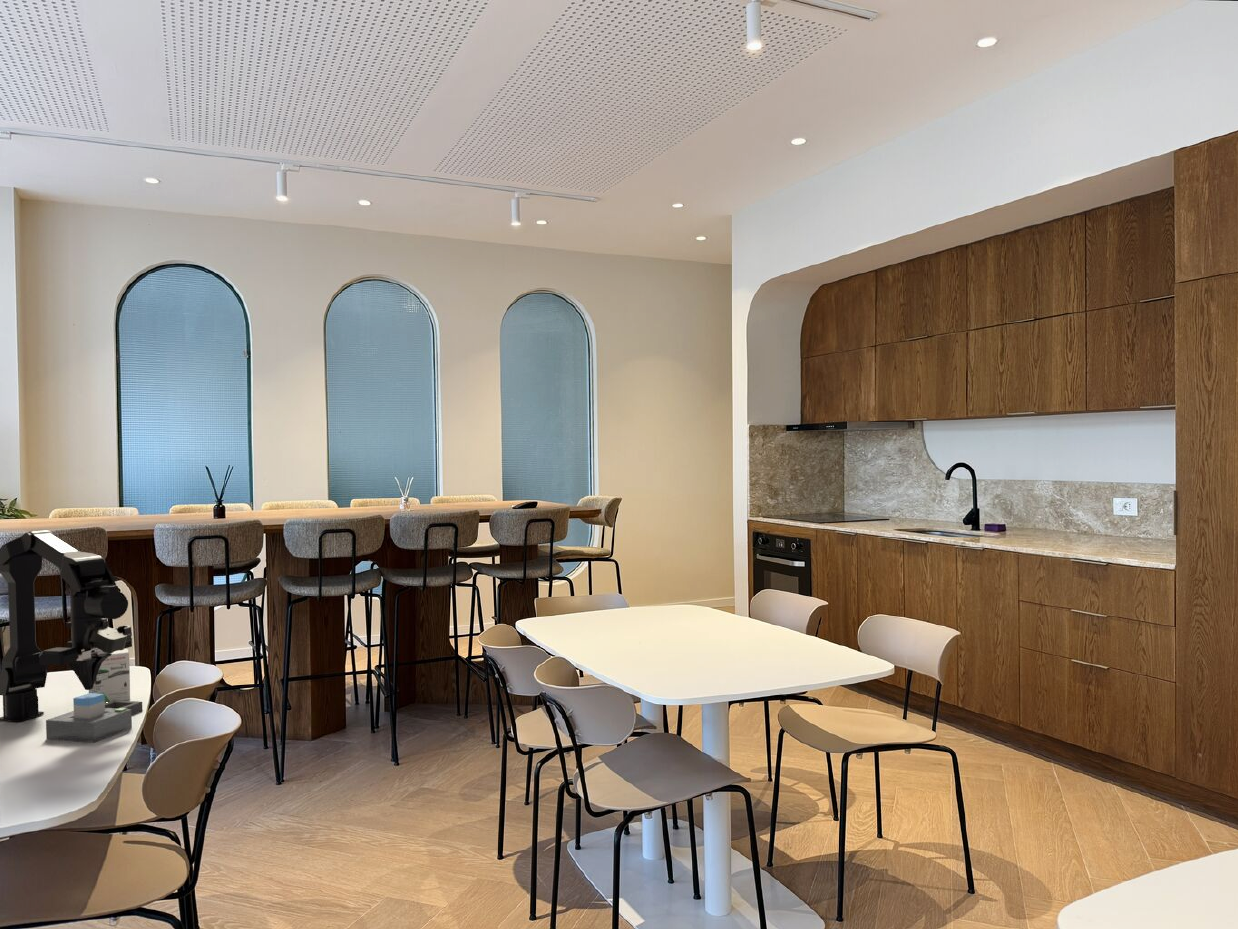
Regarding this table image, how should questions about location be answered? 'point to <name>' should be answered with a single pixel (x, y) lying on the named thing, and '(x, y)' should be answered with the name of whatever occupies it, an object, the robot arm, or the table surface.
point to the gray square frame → (125, 705)
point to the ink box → (114, 677)
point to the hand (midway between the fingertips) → (88, 689)
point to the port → (88, 726)
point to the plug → (89, 705)
